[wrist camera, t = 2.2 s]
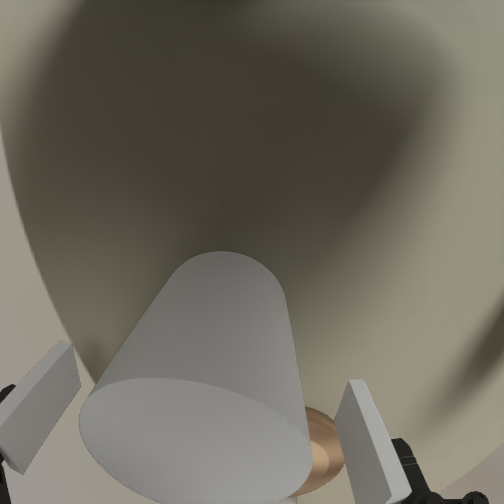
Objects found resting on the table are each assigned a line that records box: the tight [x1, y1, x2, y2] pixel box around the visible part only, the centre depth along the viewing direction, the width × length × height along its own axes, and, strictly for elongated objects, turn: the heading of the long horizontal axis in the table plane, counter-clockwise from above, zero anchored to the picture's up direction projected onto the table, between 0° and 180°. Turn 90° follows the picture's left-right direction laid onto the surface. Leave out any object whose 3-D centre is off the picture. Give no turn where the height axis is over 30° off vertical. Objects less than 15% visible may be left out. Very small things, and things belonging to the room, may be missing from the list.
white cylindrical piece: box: [79, 251, 313, 504], centre depth 14 cm, size 8×8×12 cm
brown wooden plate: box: [287, 407, 345, 498], centre depth 23 cm, size 13×13×2 cm
